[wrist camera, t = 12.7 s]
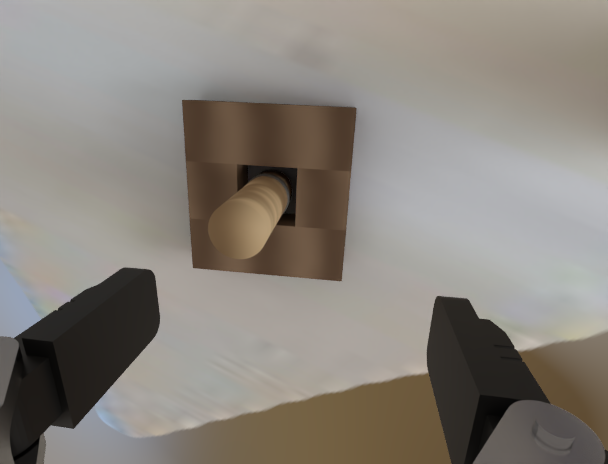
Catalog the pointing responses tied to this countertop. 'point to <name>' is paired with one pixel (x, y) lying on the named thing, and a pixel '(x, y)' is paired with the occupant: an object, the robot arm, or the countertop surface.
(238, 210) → the oak peg
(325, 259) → the walnut board
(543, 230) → the countertop surface
